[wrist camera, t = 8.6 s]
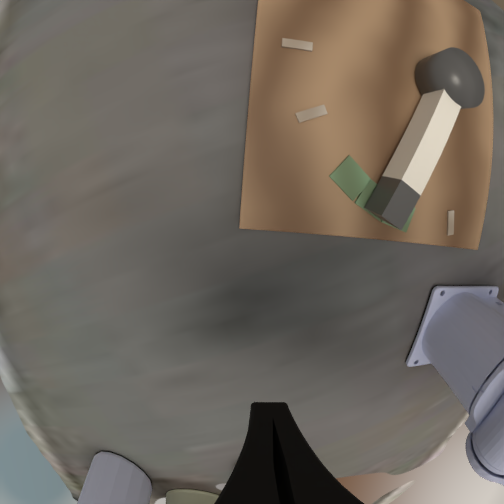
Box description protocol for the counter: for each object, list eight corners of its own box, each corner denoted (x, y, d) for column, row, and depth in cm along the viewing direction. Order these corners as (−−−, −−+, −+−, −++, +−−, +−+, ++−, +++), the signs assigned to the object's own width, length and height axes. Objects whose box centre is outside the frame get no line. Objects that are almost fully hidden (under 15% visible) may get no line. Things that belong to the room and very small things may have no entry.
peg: (425, 46, 13) (449, 35, 10) (463, 83, 14) (489, 78, 11) (347, 196, 16) (367, 205, 14) (394, 229, 17) (418, 242, 14)
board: (473, 13, 12) (481, 10, 11) (470, 246, 19) (479, 250, 18) (264, -58, 11) (265, -66, 10) (239, 224, 18) (239, 229, 17)
